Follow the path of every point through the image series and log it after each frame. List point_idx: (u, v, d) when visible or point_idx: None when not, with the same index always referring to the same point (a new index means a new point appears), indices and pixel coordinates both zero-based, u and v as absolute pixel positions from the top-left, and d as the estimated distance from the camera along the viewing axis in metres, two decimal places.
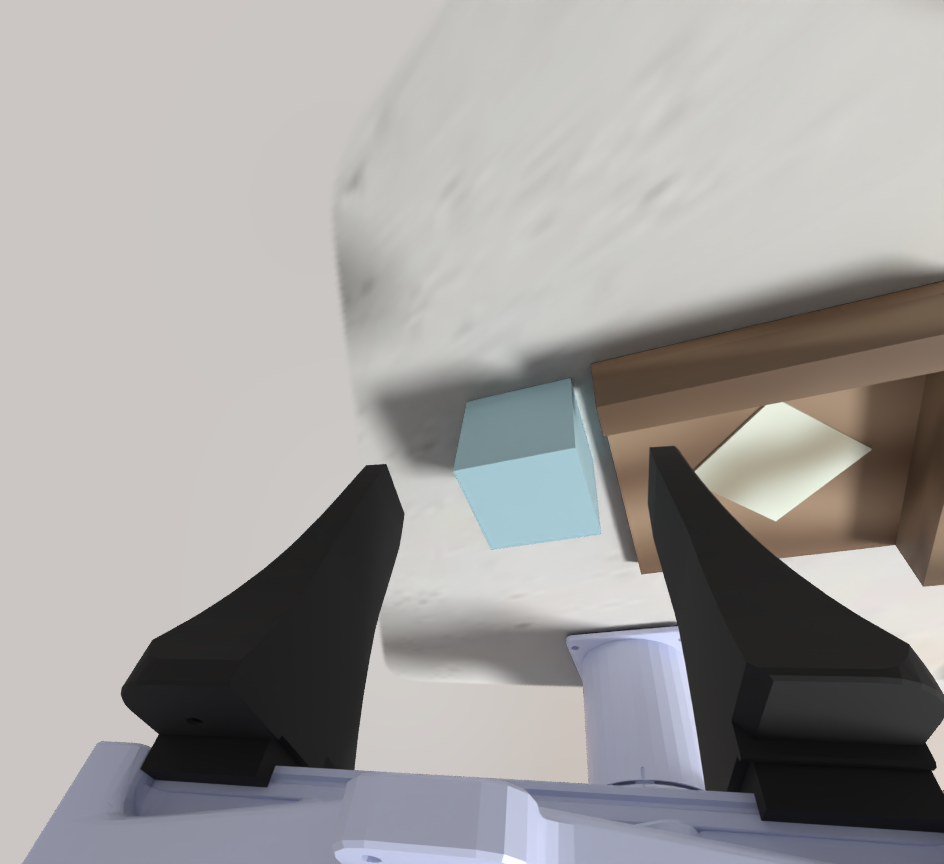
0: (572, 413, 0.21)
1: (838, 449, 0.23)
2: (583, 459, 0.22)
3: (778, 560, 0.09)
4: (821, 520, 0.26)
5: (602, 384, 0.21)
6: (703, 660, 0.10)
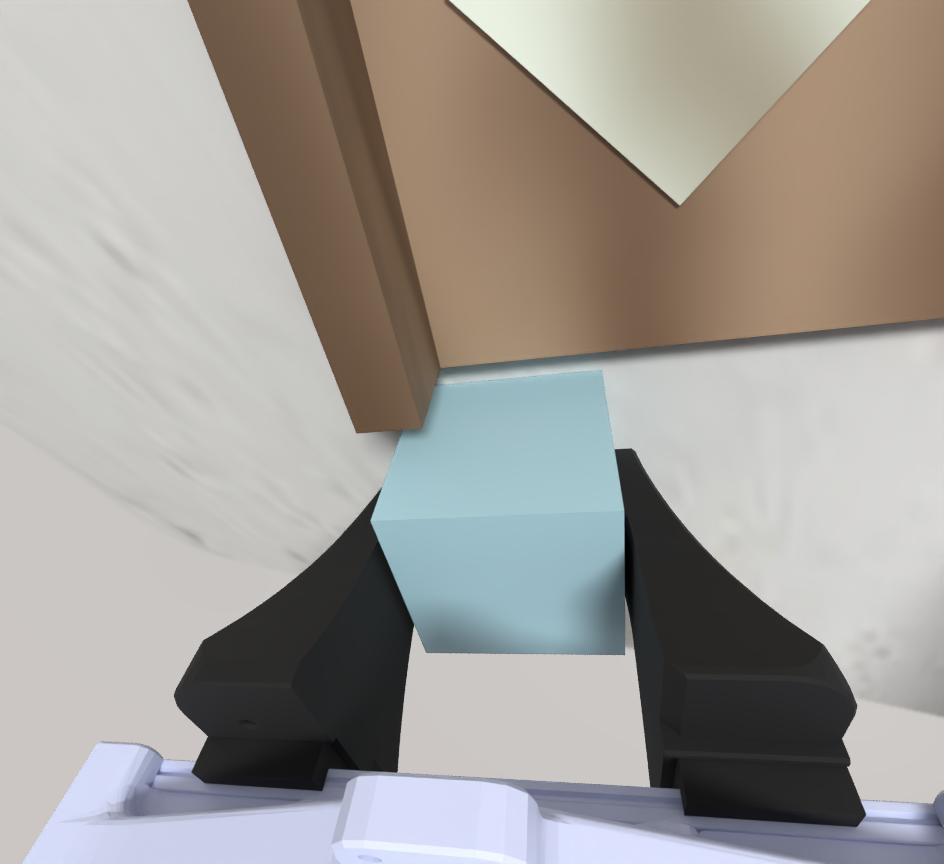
0: (397, 451, 0.12)
1: None
2: (460, 474, 0.11)
3: (714, 561, 0.09)
4: None
5: None
6: (644, 659, 0.10)
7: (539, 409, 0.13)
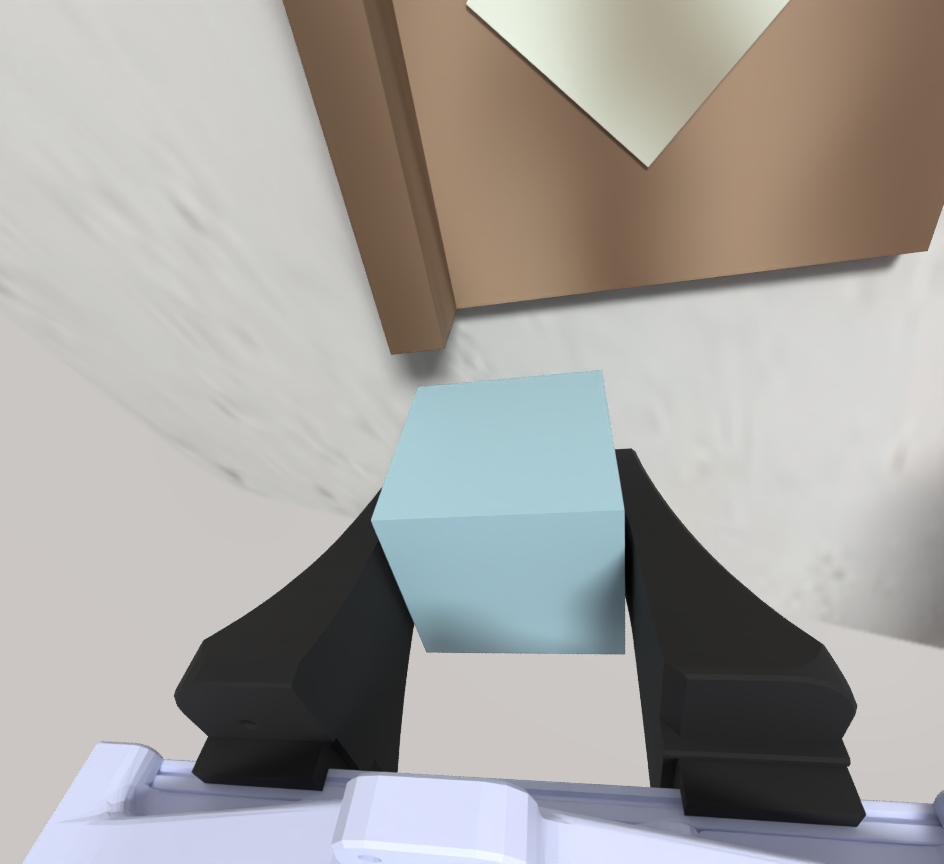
0: (397, 450, 0.12)
1: None
2: (460, 474, 0.11)
3: (714, 561, 0.09)
4: None
5: None
6: (644, 659, 0.10)
7: (539, 409, 0.13)
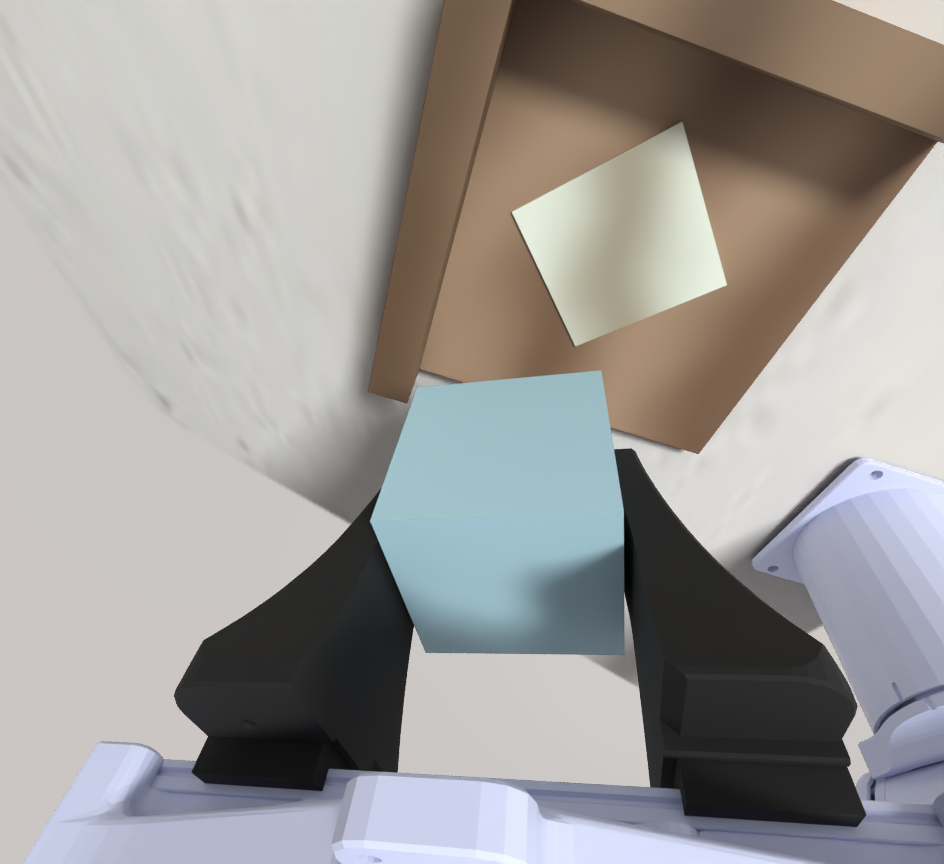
0: (396, 451, 0.12)
1: (650, 166, 0.16)
2: (460, 474, 0.11)
3: (714, 561, 0.09)
4: (778, 229, 0.17)
5: None
6: (644, 659, 0.10)
7: (539, 409, 0.13)
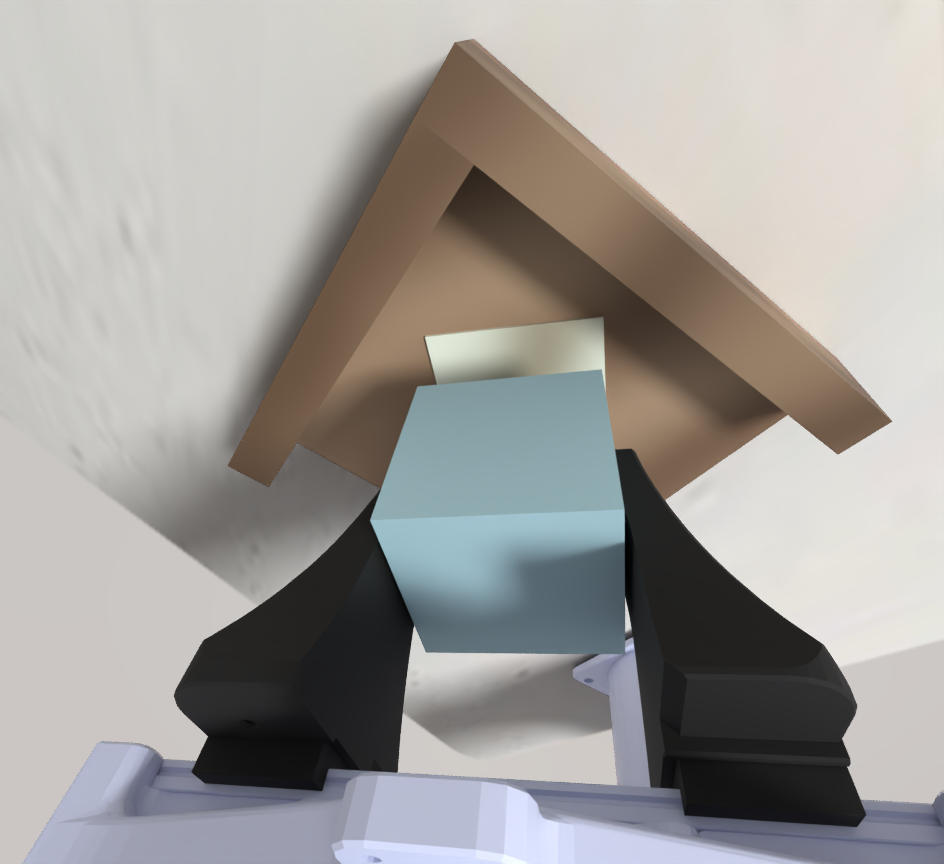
0: (396, 450, 0.12)
1: (565, 343, 0.16)
2: (460, 473, 0.11)
3: (714, 561, 0.09)
4: (662, 427, 0.18)
5: None
6: (644, 659, 0.10)
7: (539, 408, 0.13)
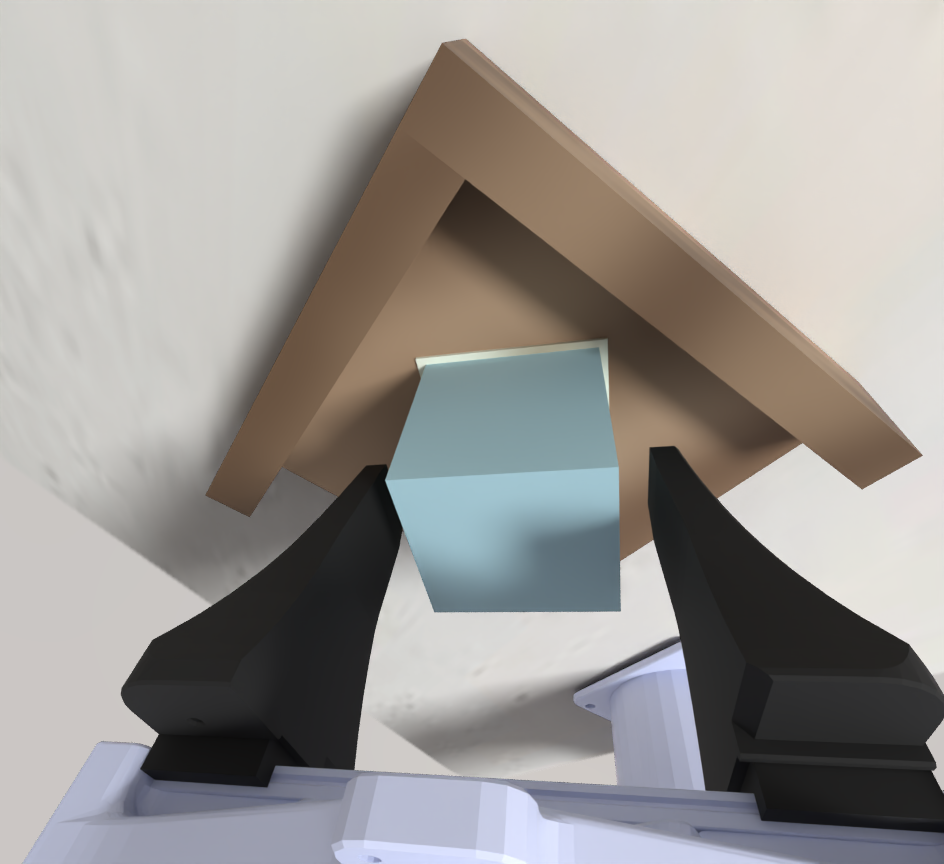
0: (408, 420, 0.13)
1: None
2: (467, 439, 0.12)
3: (778, 560, 0.09)
4: None
5: None
6: (703, 660, 0.10)
7: (540, 382, 0.14)
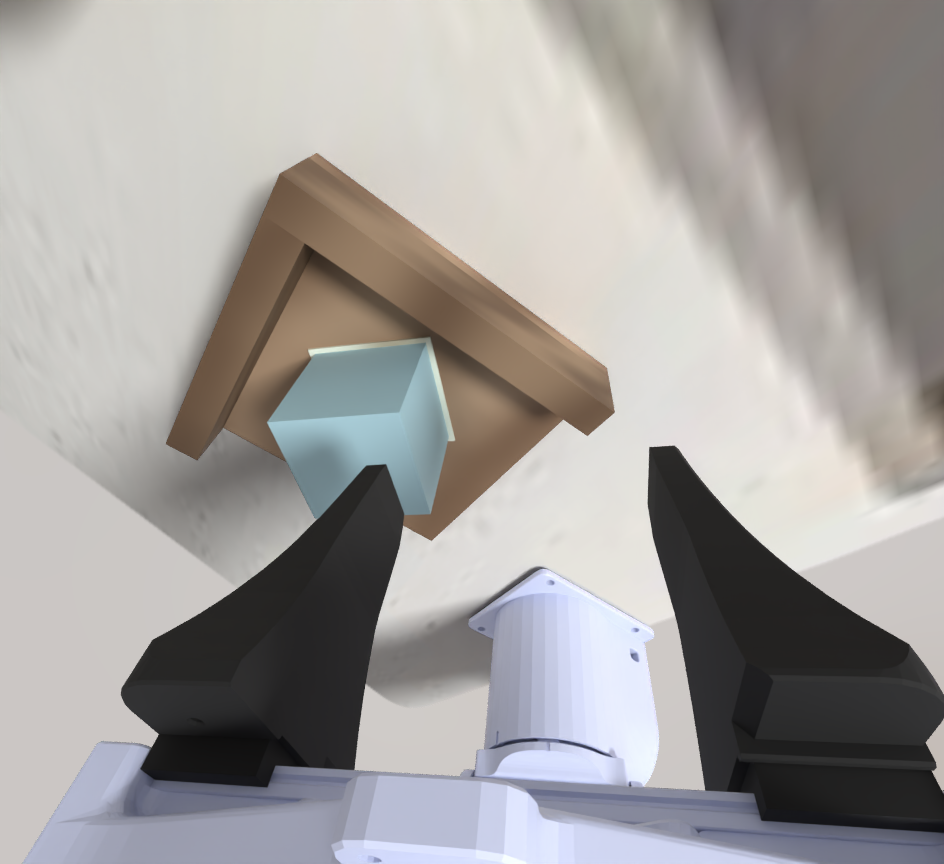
0: (292, 388, 0.21)
1: None
2: (322, 399, 0.19)
3: (778, 560, 0.09)
4: (489, 417, 0.24)
5: None
6: (703, 660, 0.10)
7: (380, 364, 0.21)
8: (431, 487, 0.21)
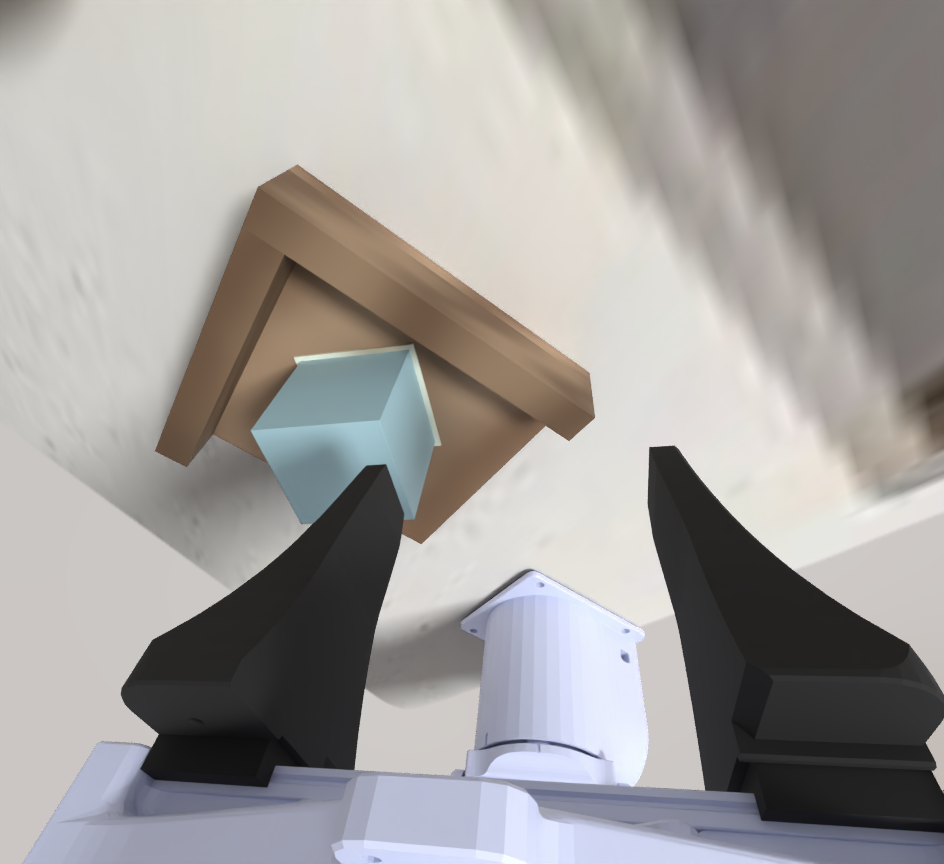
0: (276, 396, 0.21)
1: None
2: (306, 407, 0.20)
3: (778, 560, 0.09)
4: (474, 423, 0.24)
5: None
6: (703, 660, 0.10)
7: (363, 372, 0.21)
8: (415, 492, 0.21)
